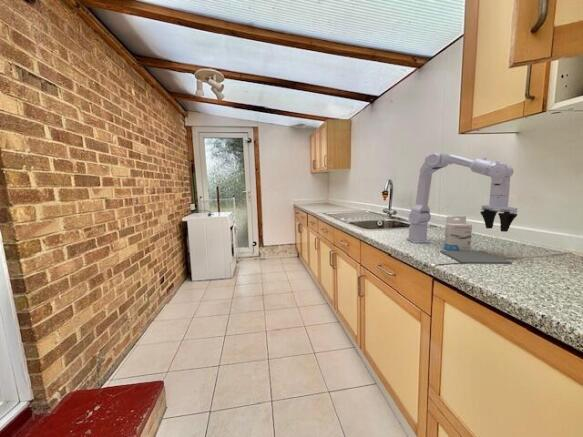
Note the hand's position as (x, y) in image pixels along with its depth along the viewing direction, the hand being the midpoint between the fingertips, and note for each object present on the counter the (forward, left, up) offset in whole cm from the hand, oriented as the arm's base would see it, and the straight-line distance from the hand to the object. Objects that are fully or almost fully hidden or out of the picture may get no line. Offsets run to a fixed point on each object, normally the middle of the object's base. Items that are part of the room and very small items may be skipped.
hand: (496, 229), depth 100 cm
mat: (+3, -10, -10) cm, 15 cm away
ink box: (-8, -10, -11) cm, 17 cm away
